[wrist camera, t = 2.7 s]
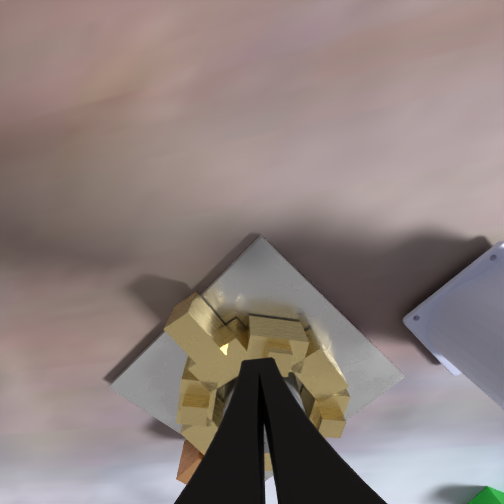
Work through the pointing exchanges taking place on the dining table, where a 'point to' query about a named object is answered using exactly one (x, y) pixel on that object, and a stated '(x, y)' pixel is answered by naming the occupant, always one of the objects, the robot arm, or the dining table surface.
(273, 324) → the yellow blocky ring
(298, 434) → the robot arm
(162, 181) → the dining table surface
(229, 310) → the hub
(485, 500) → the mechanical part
